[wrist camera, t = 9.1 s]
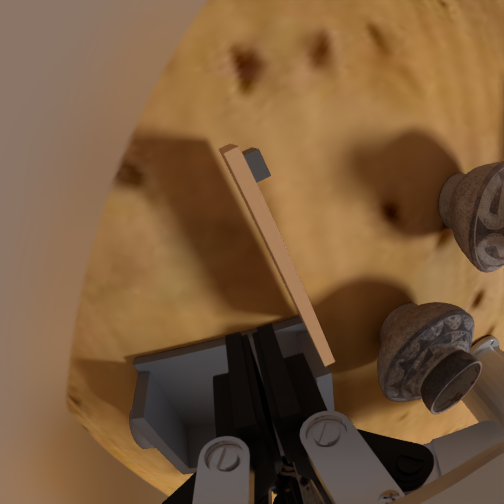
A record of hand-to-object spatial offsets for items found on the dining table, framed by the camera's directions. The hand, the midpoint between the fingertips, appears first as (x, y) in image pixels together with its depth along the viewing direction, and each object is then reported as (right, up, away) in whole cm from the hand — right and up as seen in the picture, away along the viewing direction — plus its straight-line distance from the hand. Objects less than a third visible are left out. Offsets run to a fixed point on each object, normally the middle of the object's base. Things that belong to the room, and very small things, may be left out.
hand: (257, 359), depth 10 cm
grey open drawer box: (-3, -10, +18) cm, 20 cm away
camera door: (+2, +4, +11) cm, 12 cm away
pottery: (+18, +2, +17) cm, 24 cm away
